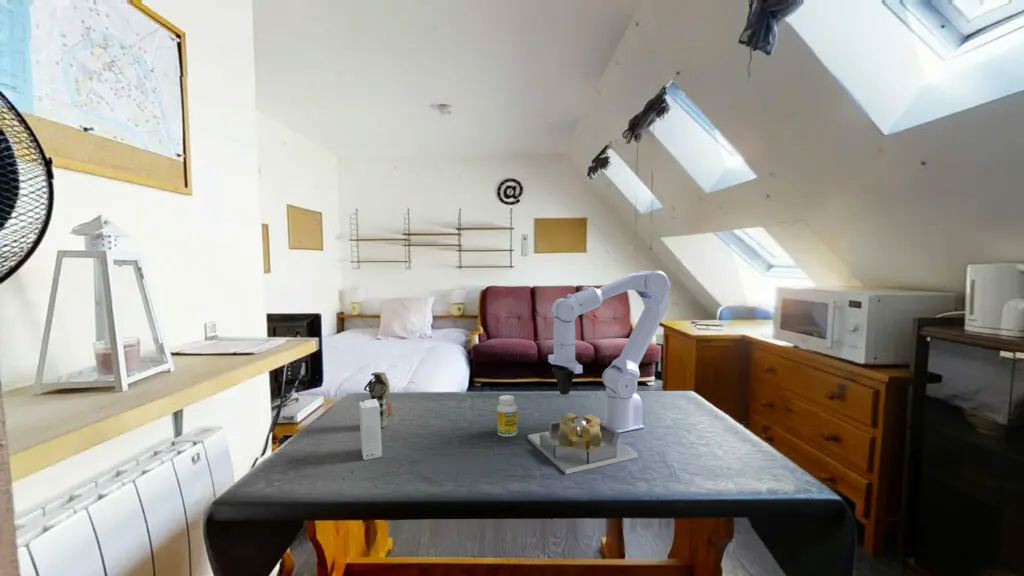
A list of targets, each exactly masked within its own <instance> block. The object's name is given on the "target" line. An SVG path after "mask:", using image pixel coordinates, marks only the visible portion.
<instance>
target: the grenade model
mask: <svg viewBox="0 0 1024 576" xmlns="http://www.w3.org/2000/svg"><path fill="white" fill-rule="evenodd" d="M370 376H373V377H372V378H371V379H370V380H369V381H368V382H367V384H366V385H365V386H364V388H363V390H364V391H365V392H368V393H369V394H370V400H371V399H376V400H377V402H378V404H379V406H380V424H381V428H382V429H384V428H386V427H387V426H388V425H389V419H388V417H390V416H391V415H393V414H392V413H393V412H392V402H391V392H390V391H391V390H390V382H389V379H388V377H387V375H386V373H385V372H382V371H381V372H380V371H376V372H373V373H371V374H370ZM367 389H368V390H367ZM386 410H387V411H386ZM386 412H387V413H386ZM383 427H384V428H383Z"/></svg>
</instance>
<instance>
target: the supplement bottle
mask: <svg viewBox="0 0 1024 576" xmlns="http://www.w3.org/2000/svg"><path fill="white" fill-rule="evenodd" d="M498 399H499V401H498V402H499V404H497V407H496V420H497V421H496V428H497V429H496V430H497V431H496V432H497V435H498V436H500V437H503V438H504V437H505V438H507V437H514V436H516V435H517V433H518V406H517V405H516V404H515V397H514V396H513V395H508V394H507V395H500V396H499V398H498Z"/></svg>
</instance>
